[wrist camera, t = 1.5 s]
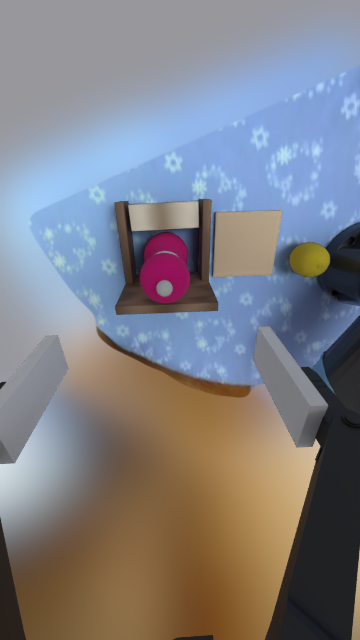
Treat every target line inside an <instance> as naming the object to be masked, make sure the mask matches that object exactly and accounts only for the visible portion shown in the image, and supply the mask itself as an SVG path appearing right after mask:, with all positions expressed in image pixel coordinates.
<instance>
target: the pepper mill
mask: <svg viewBox="0 0 360 640" xmlns="http://www.w3.org/2000/svg"><path fill="white" fill-rule="evenodd" d="M144 261H145V263H144V265H143V266H142V268H141V272H140V284H141V287H142V289H143V291H144V293H145V294H146V295H147V296H148V297H149V298H150V299H152V300H153V301H156V302H159V303H172V302H175V301H177V300H178V299H180V298H181V297H182V296H183V295H184V294H185V293H186V291H187V289H188V286H189V283H190V274H189V270H188V268H187V262H188V249H187V246H186V244H185V243H184V241H183V240H182V239H181V238H180V237H179V236H177V235H175V234H173V233H170V232H162V233H159V234H156V235H155V236H153V237H152V238H151V239H150V240H149V241H148V242H147V244H146V246H145V250H144Z"/></svg>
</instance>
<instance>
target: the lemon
mask: <svg viewBox="0 0 360 640" xmlns="http://www.w3.org/2000/svg"><path fill="white" fill-rule="evenodd" d="M289 262H290V266H291V268H292V269H293V271H295V272H296V273H297V274H299V275H301V276H305V277H315V276H318V275H320V274H322V273H323V272H324V271H325V270H326V269H327V268H328V266H329V263H330V256H329V253H328V251H327V250H326V249H325V248H324V247H323V246H321V245H320V244H317V243H314V242H306V243H302V244H300V245H298V246H297V247H296V248H295V249H294V250H293V251H292V253H291V254H290V258H289Z"/></svg>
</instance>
